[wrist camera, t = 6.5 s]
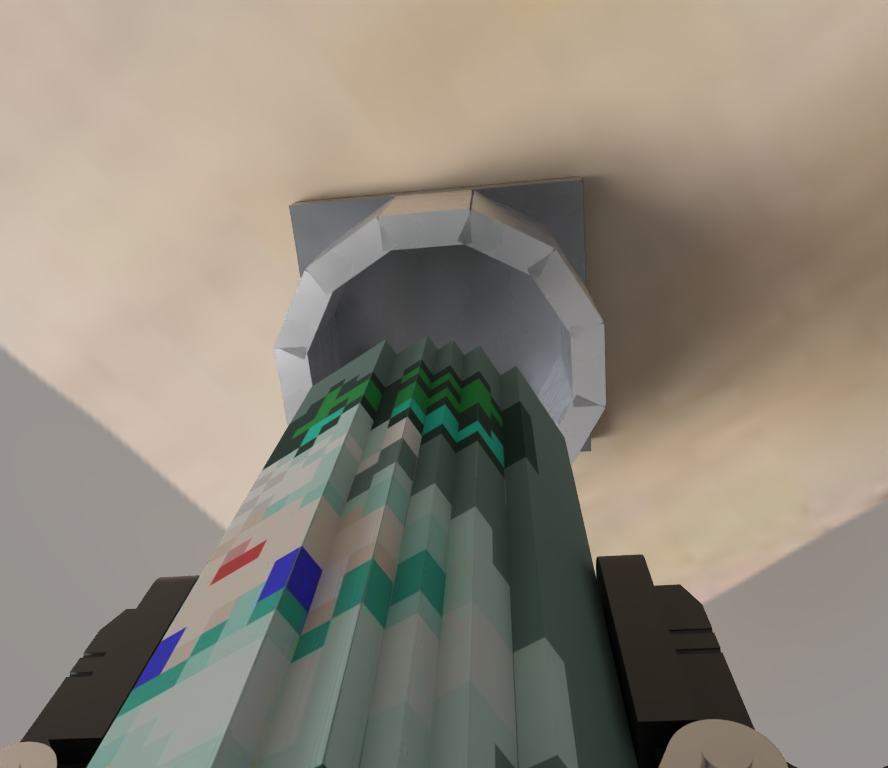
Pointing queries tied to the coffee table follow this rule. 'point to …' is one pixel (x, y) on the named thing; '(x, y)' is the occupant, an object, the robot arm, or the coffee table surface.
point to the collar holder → (451, 289)
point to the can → (393, 593)
